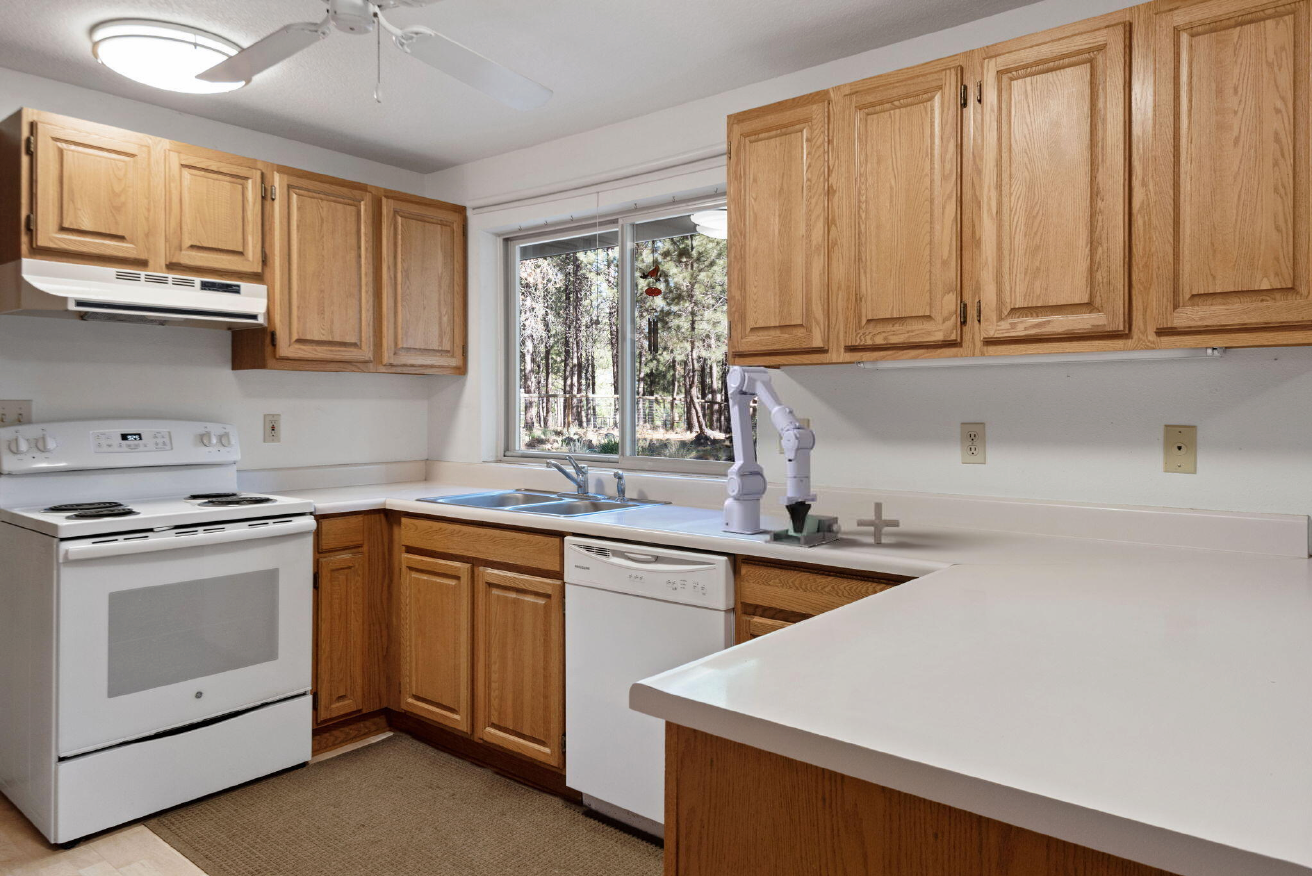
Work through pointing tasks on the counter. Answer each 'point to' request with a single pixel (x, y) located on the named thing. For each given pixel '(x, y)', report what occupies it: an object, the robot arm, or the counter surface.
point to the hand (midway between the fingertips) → (798, 532)
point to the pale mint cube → (806, 526)
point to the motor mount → (825, 533)
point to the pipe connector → (877, 522)
